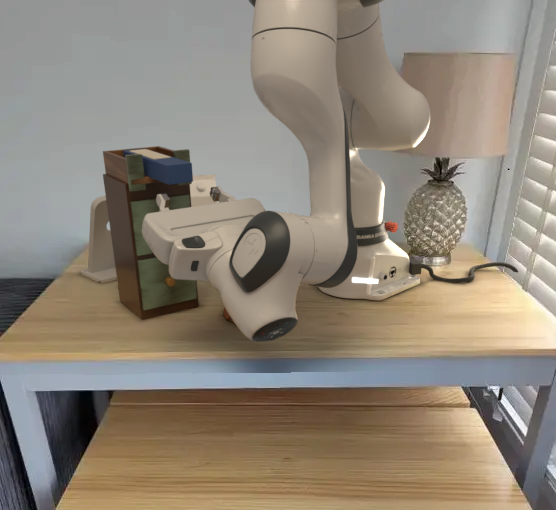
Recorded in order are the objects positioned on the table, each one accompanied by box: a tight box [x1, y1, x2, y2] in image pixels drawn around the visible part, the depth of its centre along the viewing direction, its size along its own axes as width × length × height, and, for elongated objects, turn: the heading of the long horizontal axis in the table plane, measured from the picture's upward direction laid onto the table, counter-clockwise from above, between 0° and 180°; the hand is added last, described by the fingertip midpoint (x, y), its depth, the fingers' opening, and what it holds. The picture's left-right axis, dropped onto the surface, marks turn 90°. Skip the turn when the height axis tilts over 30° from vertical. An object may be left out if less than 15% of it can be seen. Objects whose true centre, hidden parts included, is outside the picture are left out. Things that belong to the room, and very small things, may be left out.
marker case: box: [123, 149, 194, 185], centre depth 106 cm, size 4×20×3 cm, turn 33°
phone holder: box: [79, 195, 117, 284], centre depth 138 cm, size 17×10×18 cm, turn 136°
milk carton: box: [190, 174, 219, 207], centre depth 148 cm, size 7×7×19 cm
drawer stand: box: [102, 145, 200, 321], centre depth 115 cm, size 12×13×30 cm
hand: (188, 193), depth 98 cm, fingers open, 8 cm apart
